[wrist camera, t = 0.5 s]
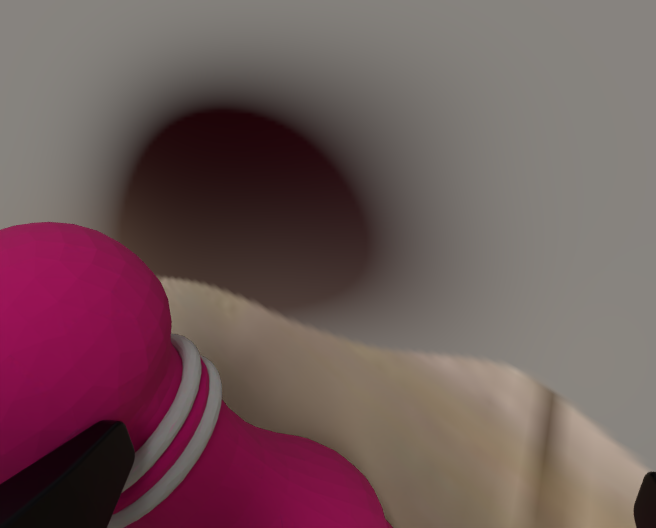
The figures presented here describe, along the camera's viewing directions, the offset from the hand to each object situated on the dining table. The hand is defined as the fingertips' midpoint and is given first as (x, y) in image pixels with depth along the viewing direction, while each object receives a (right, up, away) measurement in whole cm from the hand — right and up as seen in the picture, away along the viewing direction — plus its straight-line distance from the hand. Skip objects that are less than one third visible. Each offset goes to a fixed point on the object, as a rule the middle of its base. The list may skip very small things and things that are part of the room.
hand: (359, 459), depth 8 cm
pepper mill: (0, -10, +11) cm, 15 cm away
